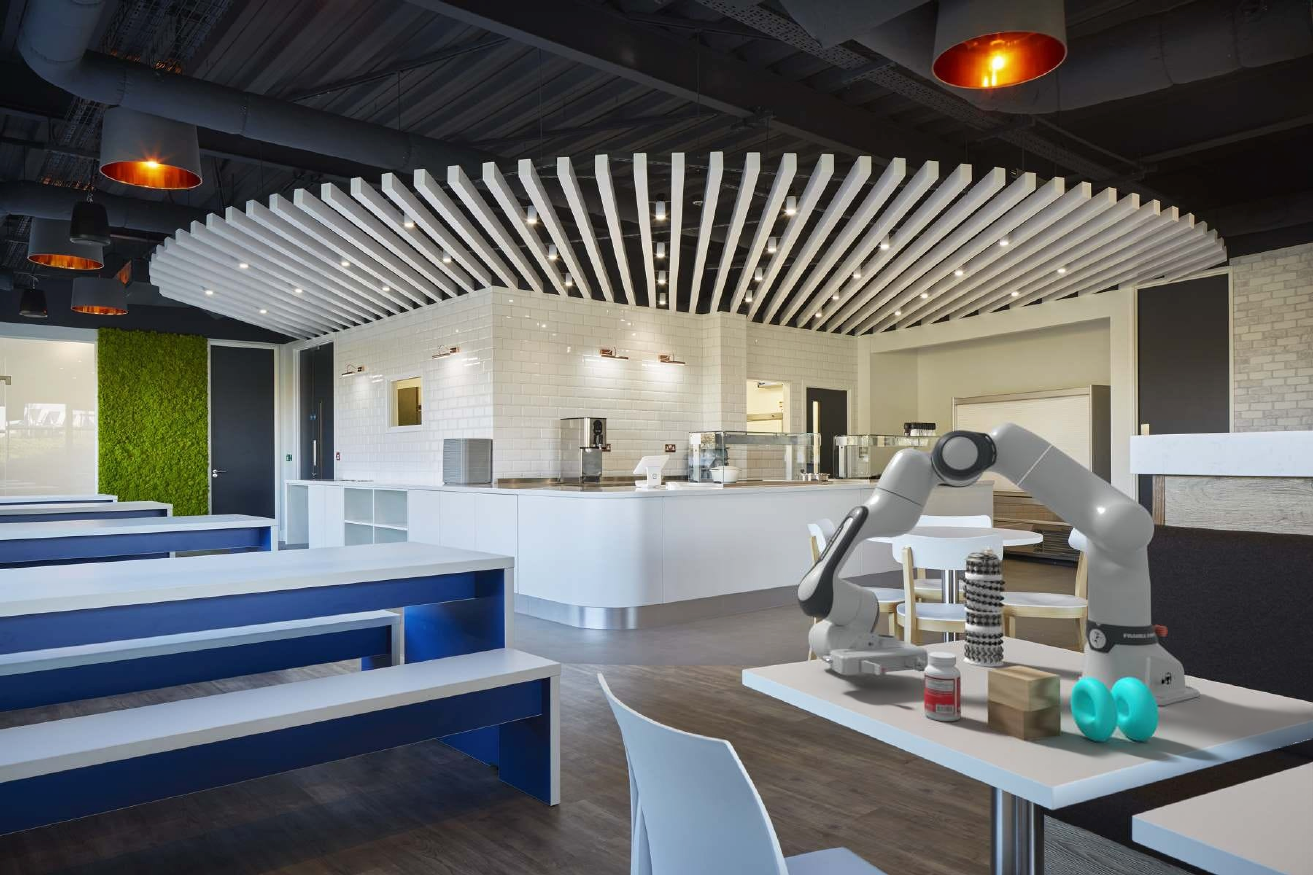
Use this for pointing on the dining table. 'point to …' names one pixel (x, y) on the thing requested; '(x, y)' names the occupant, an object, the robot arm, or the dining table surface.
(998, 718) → the tower base
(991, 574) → the decorative candle
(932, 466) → the robot arm
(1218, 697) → the dining table surface
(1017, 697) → the tower top
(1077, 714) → the turquoise spool
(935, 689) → the pill bottle
